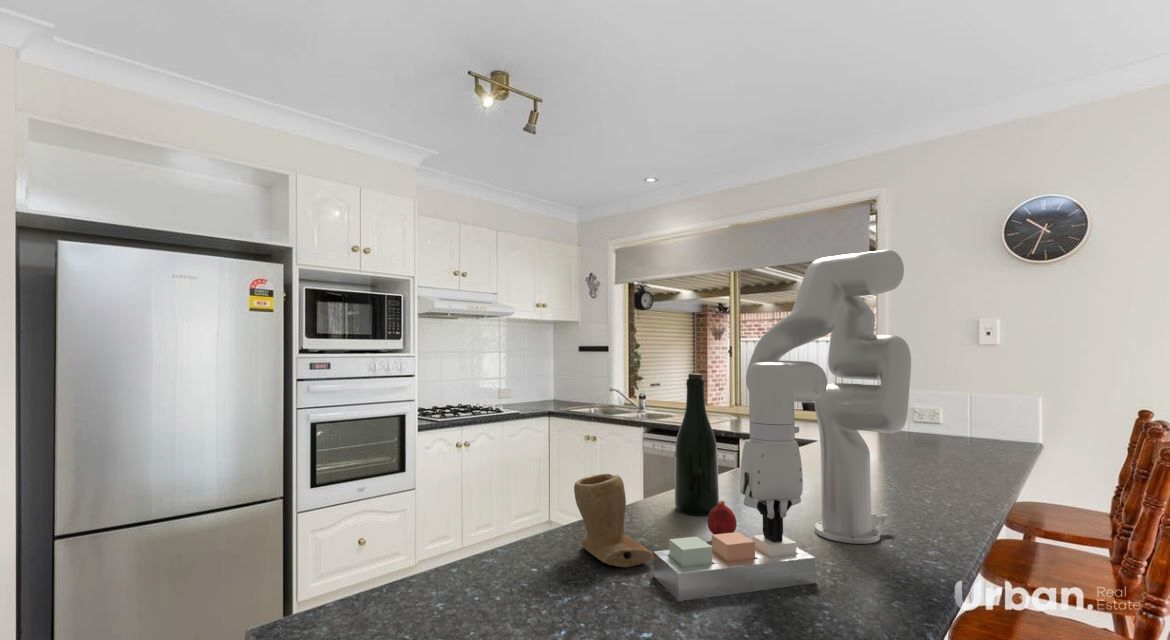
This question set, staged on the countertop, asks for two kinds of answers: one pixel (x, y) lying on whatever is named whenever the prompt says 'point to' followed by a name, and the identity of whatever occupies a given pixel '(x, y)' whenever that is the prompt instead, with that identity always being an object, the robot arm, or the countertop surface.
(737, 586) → the keypad housing
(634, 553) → the brown hollow boot-shaped piece
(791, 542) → the cream key
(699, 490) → the green wine bottle
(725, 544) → the terracotta key
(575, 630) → the countertop surface
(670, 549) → the sage key
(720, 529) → the onion
